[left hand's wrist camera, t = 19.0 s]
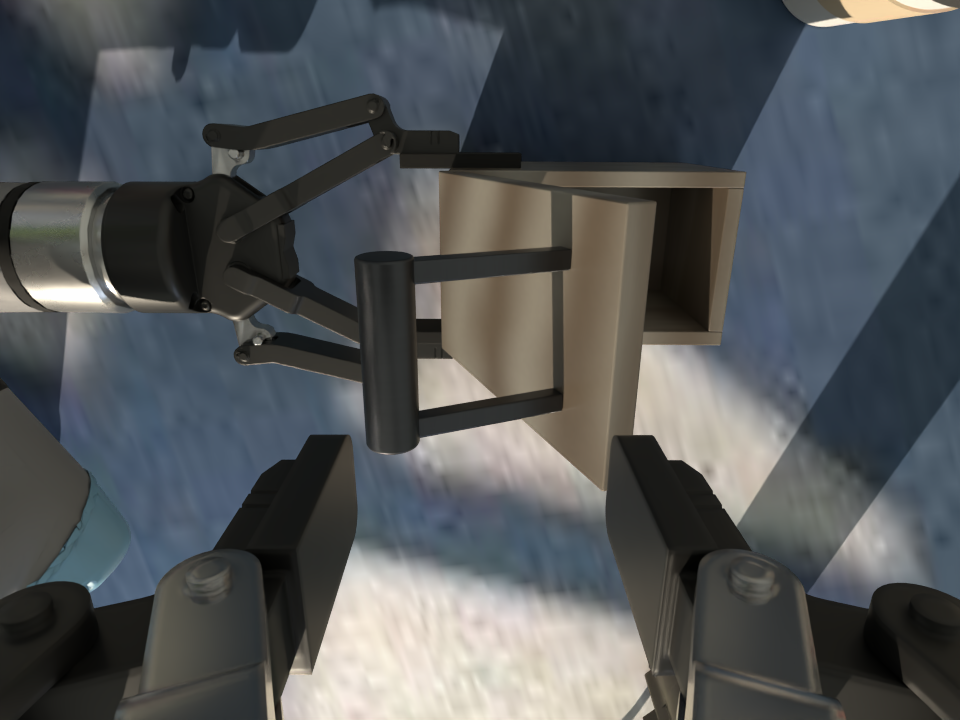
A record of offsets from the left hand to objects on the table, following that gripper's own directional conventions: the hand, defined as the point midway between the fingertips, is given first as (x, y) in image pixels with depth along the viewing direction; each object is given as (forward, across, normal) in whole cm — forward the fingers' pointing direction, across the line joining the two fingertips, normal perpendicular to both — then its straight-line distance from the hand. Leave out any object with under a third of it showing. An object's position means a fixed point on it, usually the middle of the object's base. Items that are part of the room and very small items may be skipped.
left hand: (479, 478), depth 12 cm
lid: (+15, -2, 0) cm, 15 cm away
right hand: (+25, -2, 0) cm, 25 cm away
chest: (+32, -6, 0) cm, 33 cm away
